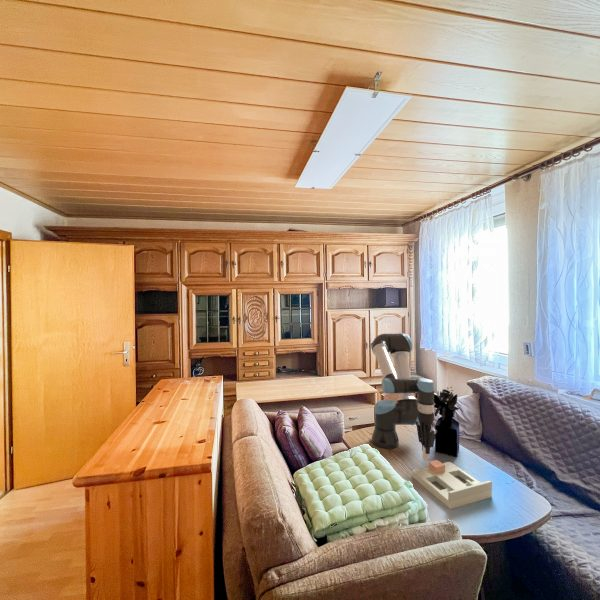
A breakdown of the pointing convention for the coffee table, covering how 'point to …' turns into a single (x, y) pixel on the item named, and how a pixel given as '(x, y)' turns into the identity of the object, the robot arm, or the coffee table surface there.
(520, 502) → the coffee table surface
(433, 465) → the block
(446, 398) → the vase
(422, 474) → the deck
